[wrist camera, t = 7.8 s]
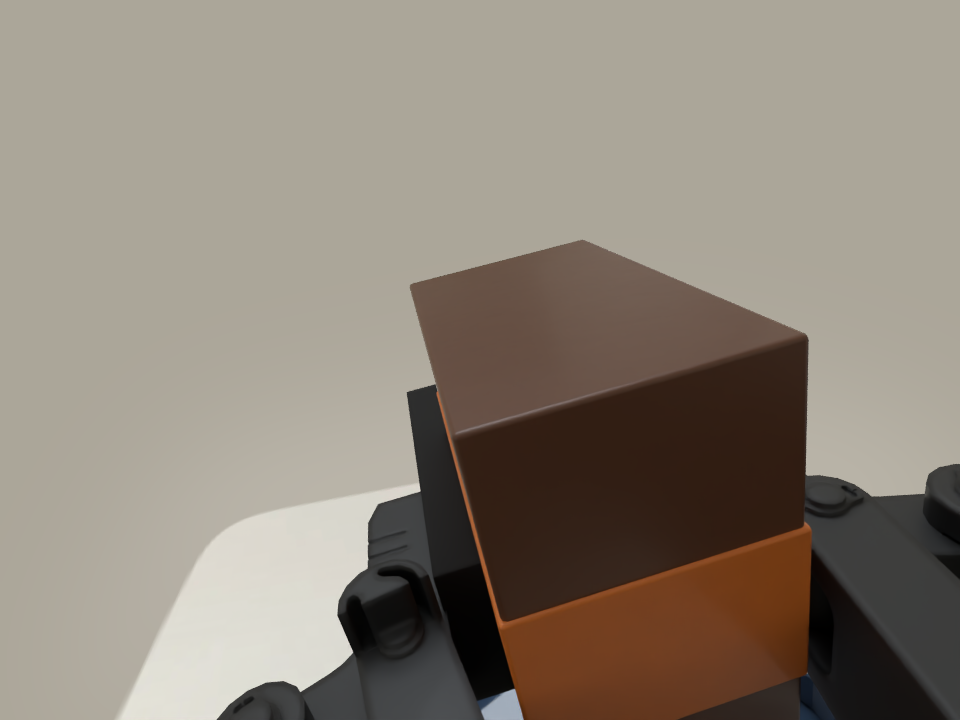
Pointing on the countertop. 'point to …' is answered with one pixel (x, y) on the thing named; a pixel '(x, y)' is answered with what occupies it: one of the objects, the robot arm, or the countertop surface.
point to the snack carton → (629, 484)
